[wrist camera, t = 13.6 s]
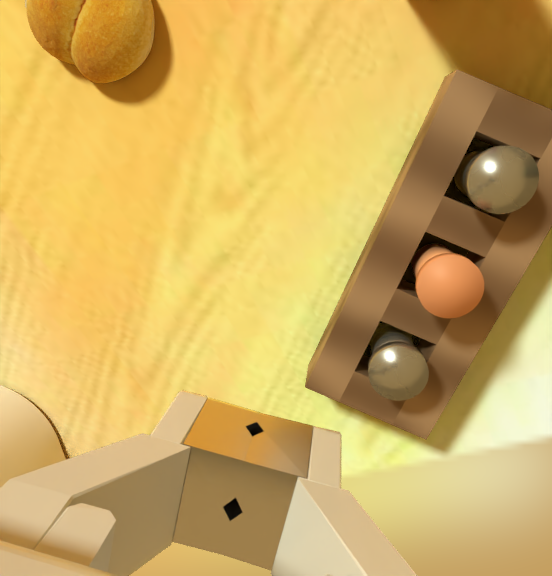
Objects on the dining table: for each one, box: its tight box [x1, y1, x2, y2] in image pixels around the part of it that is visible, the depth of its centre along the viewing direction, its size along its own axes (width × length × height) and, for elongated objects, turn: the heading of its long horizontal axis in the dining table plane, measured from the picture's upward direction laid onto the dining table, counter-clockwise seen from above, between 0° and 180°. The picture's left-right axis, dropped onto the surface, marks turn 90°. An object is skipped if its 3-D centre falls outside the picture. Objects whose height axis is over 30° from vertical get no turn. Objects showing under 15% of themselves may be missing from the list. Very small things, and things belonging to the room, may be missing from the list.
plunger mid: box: [412, 243, 484, 318], centre depth 35 cm, size 4×4×6 cm
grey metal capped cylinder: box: [368, 322, 429, 401], centre depth 38 cm, size 4×4×6 cm
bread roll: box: [25, 0, 155, 83], centre depth 36 cm, size 8×9×4 cm
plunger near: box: [454, 146, 539, 214], centre depth 33 cm, size 4×4×6 cm
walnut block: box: [305, 70, 552, 439], centre depth 37 cm, size 24×10×4 cm, turn 158°
